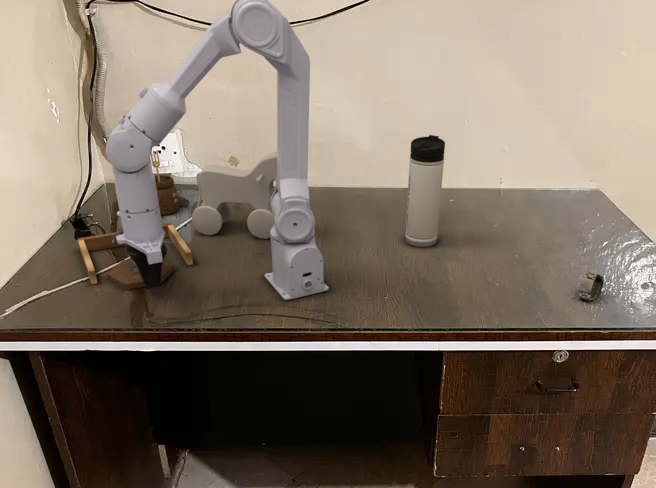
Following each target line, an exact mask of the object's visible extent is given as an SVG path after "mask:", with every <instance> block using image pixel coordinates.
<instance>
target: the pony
mask: <svg viewBox="0 0 656 488" xmlns="http://www.w3.org/2000/svg"><path fill="white" fill-rule="evenodd" d="M276 176H277V151H274V152H269V153H268V154H265V155H264V156H263V157H262V158H261V159H260V160H259V162H258V163H257V164H256V165H255V166H253V167H252V168H249V169H241V168H234V167H230V166H226V165H219V164H208V165H206V166H205V167H204V168H203V169H202V170H201V171H199V172H197V174H196V184H197V188H198V197H199V198H198V202H197V205H196V208H195V209H194V211H193V212H192V214H191V223H192V225H193V228H194V229H195V230H196V231H197V232H198V233H201V234H202V235H205V236H213V235H215V234H218V233H219V232H220V231H221V229H222V228H223V224H224V223H226V222H228V220H229V219H230V218H231V213H232V209H231V207H230V204H238V205H239V204H240V205H243V204H246V205H251V207H252V208H253V209H254V210H252V211H251V213H250V214H249V215H248V216H247V219H246V226H247V228H248V231H249V232H250V233H251V234H252V235H253V236H254V237H256V238H258V239H263V240H264V239H265V240H266V239H269V238H270V239H271V236H270V231H271V229H272V228H273V226H274V217H273V213H272V212H271V209H270V199H271V197H272V195H273V193H274V191H275V187H274V184H275V183H274V182H276Z"/></svg>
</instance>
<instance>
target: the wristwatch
mask: <svg viewBox="0 0 656 488" xmlns="http://www.w3.org/2000/svg"><path fill="white" fill-rule="evenodd" d="M580 282H581V283H580V284H579V291H580V292H579V295H578V297H579V299H582V300H586V301H588V302H590V301H594V300H595V299H596V298H597V297H598V296H599V295H600V294H601V292H602V290H603V287H604V276H602V275H600V274H599V273H597V272H595V271H591V270H587V271H586V273H585V274H584V276H583V277H582V279H581V281H580Z"/></svg>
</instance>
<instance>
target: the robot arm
mask: <svg viewBox="0 0 656 488" xmlns="http://www.w3.org/2000/svg"><path fill="white" fill-rule="evenodd" d="M240 44H241V45H242V46H243V47H244V48H245V49H248V50H250V51H251V52H254V53H255V54H258V55H260V56H262V57H264V59H265V60H266V61H267V62H268V63H269V64H270V65H271V66H272V67H273V68H274V69H275V70H276V152H277V176H276V181H275V187H274V193H273V195H272V197H271V199H270V209H271V212H272V213H273V217H274V226H273V228H272V229H271V231H270V236H271V237H270V251H271V252H270V253H271V269H272V272H267V273H265V274H264V278H265V280H266V281H267V282H269V284H270V285H271V286H272V288H273V289H274V290H275V291H276V292H277V294H278V295H279V296H280V297H281V298H282V299H283V300H284V301H289V300H293V299H299V298H302V297H306V296H311V295H314V294H318V293H323V292H328V291H329V289H330V287H329V286H328V285H327V284H326V283H325V282H324V275H325V274H324V256H323V254H322V253H321V251H320V250H319V248H318V246H317V243H316V231H315V230H316V229H315V228H316V227H315V226H316V219H315V215H314V213H313V211H312V210H311V205H310V189H309V182H308V171H309V170H308V168H309V167H308V166H309V133H310V132H309V131H310V129H309V128H310V127H309V125H310V90H311V89H310V87H311V86H310V85H311V82H310V81H311V59H310V55H309V53H308V52H307V50H306V48H305V46H304V45H303V43H302V42H301V40H300V39H299V36H298V35H297V34H296V32H295V30H294V28H293V27H292V25H291V24H290V21H289V20H288V18H287V17H286V16H285V15H284V14H283V13H282V12H281V11H280V10H279V9H278V8H277V7H275V6H274V5H273V4H272V3H271V2H270V1H269V0H235V1H234V2H233V4H232V7H231V10H230V9H226V10H225V11H223V13H222V14H221V15H219V17H218V18H216V20H214V21H213V22H212V23H211V24H210V25H209V27H207V28H206V30H205V31H204V33H203V34H202V35H201V37H200V38H199V39H198V40H197V42H196V43H195V44H194V46H193V47H192V49H190V51H189V52H188V53H187V55H186V56H185V58H184V59H183V60H182V61H181V62H180V64H179V65H178V66H177V68H176V69H175V71H174V72H173V73H172V74H171V76H170V77H169V79H168V80H167V81H163V82H153V83H151V84H150V85H149V87H146V86H145V85H144V86H142V88H141V89H140V90H139V91H138V93H137V95H138V97H139V99H138V100H137V102H136V103H135V105H133V107H132V108H130V110H129V112H127V114H126V115H125V114H122V115H120V117H119V118H118V120H117V122H118V123H119V124H118V125H117V126H116V127H115V128H114V129H113V130H112V131H111V133H110V135H109V137H108V139H107V141H106V145H105V155H106V158H107V160H108V162H109V164H110V165H111V167H112V173H113V176H114V178H113V183H114V188H115V194H116V198H117V204H118V211H120V216H121V221H122V226H123V232H124V234H122V235H117V236H116V240H117V242H118V243H119V244H124V243H126V244H127V245H126V246H125V247H126V248H125V247H124V248H125V250H126V249H127V250H126V251H127V253H128V255H129V257H130V259H133V261H134V262H135V263H136V265H137V267H138V269H139V272H140V275H141V278H142V280H143V282H144V284H145V286H146V287H145V288H146V289H147V290H149V289H153V288H157V287H160V286H161V284H160V281H161V269H162V264H163V261H165V258H166V256H167V254H168V248H167V246H166V244H165V239H166V238H165V232H164V230H163V228H162V225H163V223H162V215H160V208H159V202H158V195H157V189H156V182H155V176H156V175H154V174H155V173H154V170H153V165H152V160H151V155H150V153H151V152H153V148H154V147H156V146H160V144H161V143H162V142H163V141H164V140H165V138H166V137H167V136H168V135H169V134H170V133H171V131H172V130H173V129H174V127H175V126H176V125H177V124H178V123H179V122H180V121H181V120H182V118H183V117H184V116H185V114H186V113H187V105H186V98H187V97H188V96H189V95H190V93H191V92H193V90H194V88H196V87H197V86H198V84H200V82H201V81H202V80H203V79H204V78H205V76H206V75H207V74H208V73H209V72H210V71H211V70H212V69H213V68H214V66H215V65H216V64H217V63H218V62H219V61H220V60H221V59H223V58H226V57H230V56H234V55H239V54H242V49H241V46H240Z"/></svg>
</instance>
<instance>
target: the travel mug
mask: <svg viewBox="0 0 656 488" xmlns="http://www.w3.org/2000/svg"><path fill="white" fill-rule="evenodd" d="M445 148H446V142H445V140H443V139H442V138H440V137H439V135H433V134H429V135H428V136H420V137H416V138H414V139H413V140H412V141H411V142H410V154H409V167H408V180H407V181H408V183H407V196H406V197H407V199H406V216H405V231H404V233H405V234H404V240H405V241H404V242H406V243H407V244H408V245H410V246H412V247H416V248H430V247H432V246H434V245H436V244H437V243H438V232H439V220H440V211H441V210H440V209H441V208H440V207H441V199H442V185H443V176H444V164H445V162H444V161H445V150H446V149H445Z"/></svg>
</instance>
